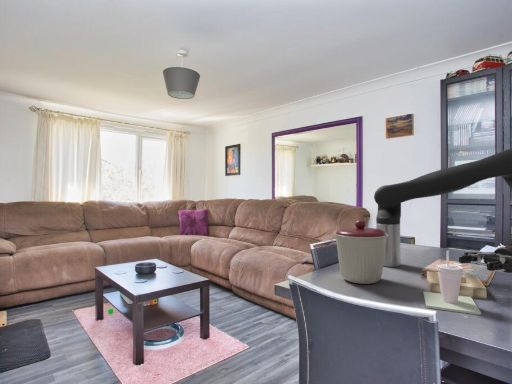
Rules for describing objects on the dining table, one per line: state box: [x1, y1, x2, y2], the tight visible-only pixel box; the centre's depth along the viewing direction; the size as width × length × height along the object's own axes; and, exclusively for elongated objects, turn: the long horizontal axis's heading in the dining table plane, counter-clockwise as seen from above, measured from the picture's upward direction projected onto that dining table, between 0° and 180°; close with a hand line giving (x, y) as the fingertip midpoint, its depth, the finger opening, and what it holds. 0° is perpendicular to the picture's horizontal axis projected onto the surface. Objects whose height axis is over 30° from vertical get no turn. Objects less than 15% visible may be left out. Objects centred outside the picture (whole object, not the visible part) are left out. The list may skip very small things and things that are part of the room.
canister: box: [333, 219, 388, 285], centre depth 107 cm, size 18×18×21 cm
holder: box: [426, 270, 487, 300], centre depth 97 cm, size 14×14×3 cm
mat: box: [423, 291, 482, 316], centre depth 85 cm, size 12×12×1 cm
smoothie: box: [436, 250, 464, 303], centre depth 85 cm, size 6×6×14 cm
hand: (473, 263), depth 86 cm, fingers open, 8 cm apart
